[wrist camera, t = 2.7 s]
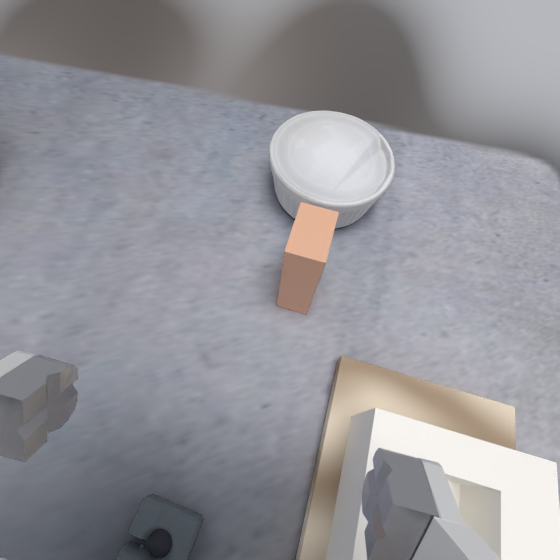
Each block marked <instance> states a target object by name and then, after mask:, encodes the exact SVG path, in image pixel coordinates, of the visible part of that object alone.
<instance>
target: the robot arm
mask: <svg viewBox="0 0 560 560" xmlns="http://www.w3.org/2000/svg"><path fill="white" fill-rule="evenodd" d="M77 379H78V368H77V367H75V366H74V365H72V364H68V363H65V362H62V361H58V360H55V359H52V358H48V357H45V356H42V355H37V354H33V353H30V352H27V351H23V350H22V351H15V352H14V353H12V354H10V355H8V356H7V357H5V358H3V359H1V360H0V456H3V457H7V458H11V459H15V460H19V461H23V462H26V461H27V460H28V459H29V458H30V457H31V456H32V455H33V454H34V453H35V452H36V451H37V450H38V449H39V448H40V447H41V446H42V445H43V444H44V443H45V442H47V436H48V433H49V432H52V431H54V430H57V429H59V428H61V427H62V426H63V425H64V424H65V423H66V422H67V421H68V420H69V418H70V416H71V415H72V413H73V411H74V410H75V407H76V403H77V394H78V393H77V391H76V389H75V388H74V386H73V383H74V382H75V381H76V380H77ZM373 466H374V469H372V470H370V471H369V472H367V475H366V477H365V480H364V484H363V490H362V513H363V515H364V516H365V518H366V519H367V521H368V524H367V526H366V529H365V531H364V534H365V543H366V553H367V560H502V559H501V558H500V557H499V556H498V555H497V554H496V553H495V552H494V551H493V550H492V549H491V547H490V546H489V545H488V544H487V543H486V542H485V541H484V540H483V539H482V538H481V537H480V536H479V535H478V533H477V532H476V531H475V530H474V529H473V528H472V527H469V526H466V525H465V524H464V521H463V519H462V516H461V514H460V511H459V508H458V506H457V503H456V501H455V498H454V496H453V493H452V490H451V488H450V485H449V483H448V480H447V478H446V475H445V473H444V470H443V467H442V466H441V465H440V464H439V462H434V461H430V460H426V459H422V458H416V457H413V456H409V455H405V454H401V453H398V452H394V451H390V450H386V449H382V448H378V449H377V450H376V452H375V454H374V457H373ZM0 560H7V559H4V558H1V557H0Z"/></svg>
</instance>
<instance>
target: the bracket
mask: <svg viewBox="0 0 560 560" xmlns="http://www.w3.org/2000/svg"><path fill="white" fill-rule="evenodd" d="M202 521H203V518H202V515H200V514H198V513H196V512H193V511H191V510H189V509H186V508H184V507H182V506H179V505H177V504H175V503H173V502H170V501H168V500H166V499H163V498H161V497H159V496H157V495H154V494H152V495H150V496H148V497H146V498H144V499H143V500H142V502H141V505H140V507H139V509H138V511H137V513H136V515H135V518H134V520H133V522H132V524H131V526H130V528H129V531H128V533H129V534H130V535H132V536H135V537H137V538H139V539H143V540H144V541H146V540H147V538H148V537H149V536H150V535H151V533H152V532H153V531H154V530H156V529H165V530H166V531H168V532H169V534H170V536H171V539H172V547H171V550H170V552H169V553H168V554H167V555H166V556H165V557H163V558H155V557H154V556H152V555H151V554H150V552H149V550H148V549H146V548H144V544H141V545H138V544H135V543H133V542H129V543H127V544H125V545H124V546H123V547H122V548H121V549H120V551H119V552H118V555H117V557H116V559H115V560H188V558H189V555H190V552H191V550H192V547H193V545H194V542H195V539H196V537H197V534H198V532H199V529H200V526H201V524H202Z"/></svg>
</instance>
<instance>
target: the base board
mask: <svg viewBox="0 0 560 560" xmlns="http://www.w3.org/2000/svg"><path fill="white" fill-rule="evenodd" d="M373 408H378V409H382V410H385V411H388V412H391V413H395V414H398V415H401V416H405V417H408V418H411V419H414V420H418V421H421V422H424V423H427V424H431V425H434V426H437V427H441V428H444V429H447V430H450V431H454V432H457V433H460V434H464V435H467V436H470V437H473V438H477V439H480V440H483V441H486V442H490V443H493V444H496V445H500V446H503V447H506V448H509V449H513V450H516V440H515V407H513V406H509V405H506V404H503V403H499V402H496V401H492V400H489V399H486V398H482V397H479V396H476V395H472V394H469V393H465V392H462V391H459V390H455V389H452V388H449V387H445V386H442V385H438V384H435V383H432V382H428V381H425V380H422V379H418V378H415V377H412V376H408V375H405V374H401V373H398V372H395V371H391V370H388V369H385V368H381V367H378V366H374V365H371V364H368V363H364V362H361V361H358V360H354V359H351V358H348V357H344V356H341V357H340V358H339V359H338V361H337V366H336V371H335V375H334V380H333V385H332V390H331V394H330V399H329V404H328V409H327V413H326V418H325V423H324V427H323V432H322V437H321V442H320V446H319V451H318V456H317V461H316V465H315V470H314V475H313V480H312V484H311V489H310V494H309V498H308V503H307V508H306V513H305V517H304V522H303V527H302V532H301V536H300V541H299V546H298V550H297V555H296V560H326V554H327V549H328V543H329V538H330V532H331V527H332V521H333V515H334V510H335V504H336V499H337V493H338V488H339V482H340V477H341V471H342V466H343V460H344V454H345V449H346V443H347V438H348V432H349V427H350V421H351V416H353V415H356V414H359V413H362V412H365V411H368V410H370V409H373Z"/></svg>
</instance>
